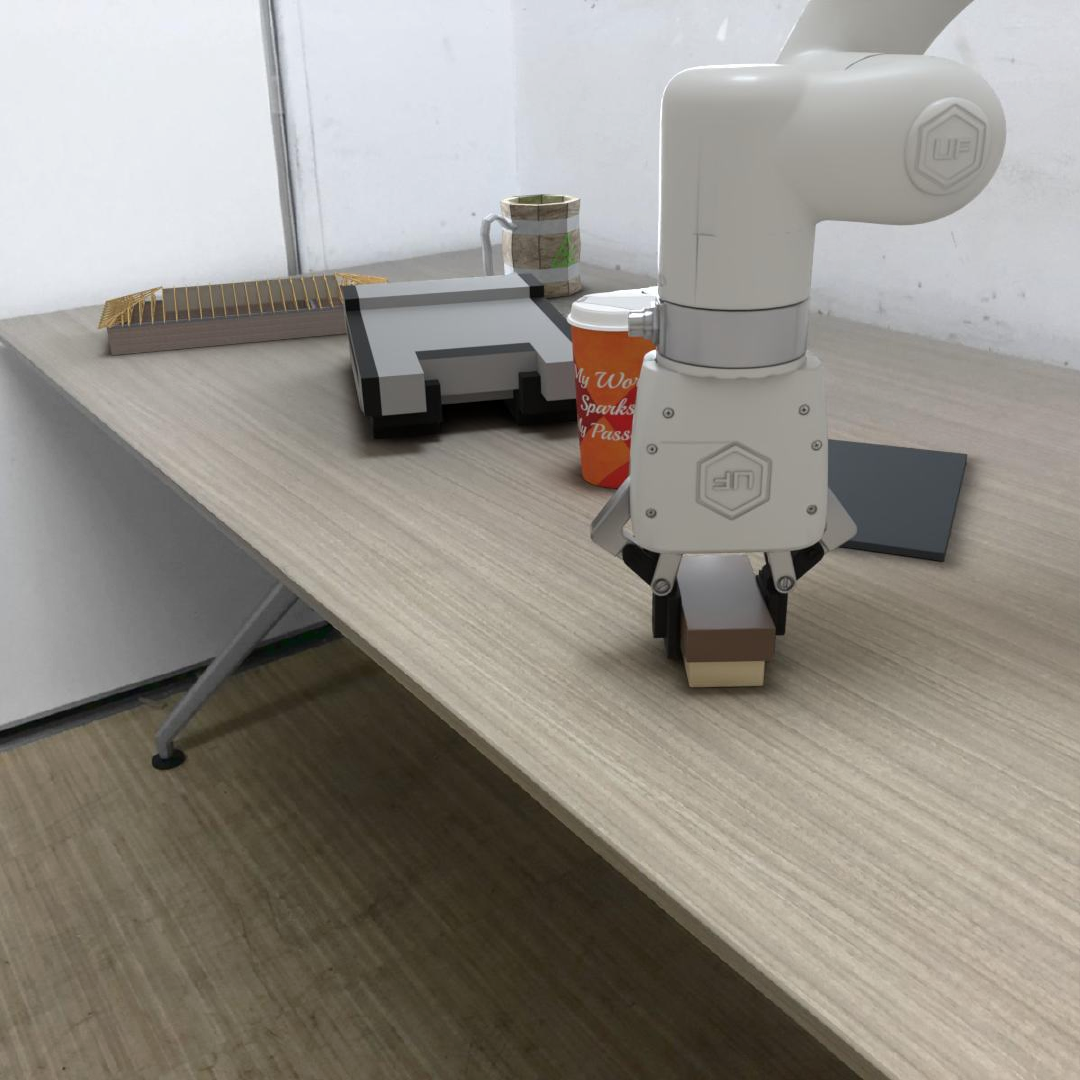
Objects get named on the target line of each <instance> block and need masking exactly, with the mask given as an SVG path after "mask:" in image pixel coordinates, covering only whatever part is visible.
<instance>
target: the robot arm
mask: <svg viewBox="0 0 1080 1080" xmlns="http://www.w3.org/2000/svg"><path fill="white" fill-rule="evenodd" d="M974 1H975V0H807V2H806V4H805V6H804V8H803V9H802V11H801V13H800V15H799V17H798V19H797V20H796V21H795V24H794V25H793V27H792V29H791V31H790V33H789V35H788V36H787V38H786V39H785V42H784V43H783V45H782V47H781V49H780V50H779V53H778V54H777V56H776V58H775V60H774V62H773V63H741V64H739V63H738V64H736V63H735V64H713V65H705V66H704V65H703V66H702V65H701V66H696V67H695V66H694V67H691V68H686V69H683V70H682V71H679V72H677V73H676V74H675V75H673V77H672V78H670V79H669V81H668V83H666V86H665V87H664V91H663V92H662V97H661V102H660V115H659V116H660V118H659V162H658V163H659V165H658V167H659V168H658V170H659V171H658V173H659V174H658V225H657V226H658V230H657V233H658V234H657V235H658V236H657V286H658V288H657V293H655V302H651V306H650V308H643V310H637V311H628V336H629V337H643V340H649V339H650V340H651V343H652V345H656V350H653V351H650V352H649V353H647V354H646V355H645V357H644V360H643V364H642V368H641V372H640V377H639V382H638V387H637V395H636V402H635V409H634V415H633V424H632V435H631V447H630V462H629V476H628V477H627V478H626V480H625V481H624V482H623V484H622V485H621V486H620V487H619V488H617V489H616V490H615V492H614V493H613V495H612V496H611V497H610V499H609V500H608V501H607V502H606V503H605V505H604V506H603V507H602V509H601V510H600V511H599V512H598V513H597V514H596V516H595V517H594V518H593V520H592V521H591V523H590V524H589V533H590V534H589V535H590V539H591V541H592V542H593V543H594V544H595V545H597V546H598V547H599V548H601V549H603V550H604V551H606V552H608V553H609V554H611V555H612V556H613V557H615V558H616V557H617V558H618V559H619V560H621V561H623V563H624V564H625V565H626V567H628V568H629V569H630V570H631V571H632V572H633V573H634V574H635V575H637V577H639V578H640V579H641V580H642V581H644V582H645V583H646V584H647V585H648V586H649V587H650V589H651V592H652V593H651V597H652V600H651V606H652V607H651V631H652V638H653V639H663V644H664V645H663V646H664V650H665V655H666V659H667V660H675V659H677V658H678V657H681V635H680V623H681V603H682V597H681V593H680V588H679V584H678V580H677V577H676V576H677V573H678V569H679V566H680V563H681V560H682V557H683V556H684V555H691V554H692V555H693V554H694V555H697V554H698V555H699V554H701V555H702V554H706V555H707V554H748V553H751V554H752V553H762V554H763V559H764V563H765V564H764V565H763V566H762V567H761V569H758V574H755V576H756V580H757V582H758V585H759V588H760V590H761V593H762V596H763V598H764V601H765V602H766V605H767V608H768V610H769V613H770V616H771V618H772V621H773V623H774V626H775V629H776V630H775V639H776V637H777V636H778V637H779V636H782V637H783V636H785V634H786V626H787V616H788V615H787V613H788V602H789V601H788V600H789V593H791V592H793V591H794V590H795V589H796V587H797V584H798V580H800V579H801V578H802V577H803V576H804V575H806V574H807V573H808V572H810V570H811V569H812V568H814V567H815V566H816V565H817V564H818V563H819V562H821V561H822V560H823V559H824V557H825V555H826V554H828V553H831V552H833V551H835V550H836V549H837V548H839V547H841V546H840V545H842V544H843V543H845V542H846V541H848V540H850V539H851V538H853V537H854V536H855V535H856V533H857V526H856V524H855V523H854V521H853V519H852V518H851V516H850V515H849V514H848V512H847V511H846V509H845V508H844V507H843V505H842V504H841V503H840V501H839V500H838V499H837V497H836V496H835V494H834V493H833V492H832V490H831V489H830V488H829V486H828V439H829V426H828V424H829V421H828V402H827V401H828V400H827V390H826V380H825V372H824V371H825V370H824V365H823V360H822V359H821V358H819V357H818V356H817V355H816V354H815V353H813V352H812V351H809V350H808V349H807V348H808V335H809V322H810V321H809V320H810V310H811V309H810V307H811V289H812V278H813V266H814V265H813V264H814V252H815V240H816V230H817V229H816V228H817V225H818V224H819V223H821V222H825V221H833V222H834V221H835V222H848V223H849V222H853V223H863V224H874V225H884V226H885V225H886V226H914V225H921V224H923V225H924V224H927V223H932V222H935V221H938V220H941V219H943V218H946V217H948V216H950V215H952V214H954V213H957V212H958V211H960V210H962V209H963V208H964V207H966V206H967V205H969V204H970V203H971V202H972V201H974V200H975V199H976V198H977V197H978V196H979V195H980V194H982V192H983V191H984V190H985V188H986V187H987V186H988V185H989V184H990V182H991V180H992V179H993V178H994V176H995V175H996V172H997V170H998V168H999V166H1000V164H1001V162H1002V159H1003V156H1004V152H1005V149H1006V148H1005V147H1006V143H1007V121H1006V116H1005V111H1004V107H1003V106H1002V103H1001V100H1000V98H999V97H998V95H997V93H996V92H995V90H994V89H993V87H992V86H991V84H989V82H988V81H987V80H985V78H983V76H981V75H980V74H979V73H977V72H976V71H975V70H973V69H972V68H971V67H968V66H967V65H964V64H963V63H960V62H957V61H955V60H952V59H949V58H945V57H940V56H935V55H928V54H926V52H927V51H928V49H929V48H930V46H931V45H932V44H933V43H934V41H935V40H936V39H937V38H938V36H940V34H941V33H943V31H944V30H945V29H946V28H947V27H948V26H949V24H951V22H952V21H953V20H954V19H955V18H957V16H959V15H960V14H961V13H962V12H963V11H964V10H965V9H966V8H967V7H968V6H969V5H971V4H972V3H973V2H974ZM810 510H811V511H810ZM629 521H630V524H631V531H632V534H631V533H629V532H628V530H627V529H625V528H624V527H625V525H627V523H628V522H629ZM775 650H776V643H775V644H774V653H775V652H776V651H775Z"/></svg>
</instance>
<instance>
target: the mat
mask: <svg viewBox="0 0 1080 1080" xmlns="http://www.w3.org/2000/svg"><path fill="white" fill-rule="evenodd" d="M967 461H968V454H967V453H961V452H953V451H944V450H943V451H942V450H935V449H924V448H916V447H915V448H914V447H907V446H898V445H897V446H896V445H888V444H877V443H869V442H859V441H851V440H850V441H849V440H841V439H832V438H828V486H829V488H830V489H831V490H832V492H833V493H834V494H835V496H836V497H837V499H838V500H839V501H840V503H841V504H842V505H843V507H844V508H845V509H846V511H847V512H848V514H849V515H850V516H851V518H852V519H853V521H854V523H855V524H856V526H857V533H856V535H855V536H854V537H853V538H851V539H850V540H848V541H846V542H845V543H843V544H842V545H840V546H839V547H841V548H847V549H848V548H849V549H855V550H856V549H857V550H862V551H868V552H869V551H870V552H877V553H883V554H890V555H898V556H905V557H912V558H917V559H918V558H920V559H925V560H933V561H939V562H940V561H941V562H944V561H945V558H946V553H947V548H948V544H949V539H950V535H951V531H952V525H953V522H954V518H955V513H956V508H957V504H958V500H959V496H960V490H961V486H962V483H963V478H964V474H965V469H966V465H967ZM810 511H811V510H810Z"/></svg>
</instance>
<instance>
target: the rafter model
mask: <svg viewBox="0 0 1080 1080" xmlns="http://www.w3.org/2000/svg"><path fill="white" fill-rule="evenodd" d="M337 275H338V276H340V277H341V280H340V282H339V279H338V277H337ZM379 283H391V282H390V281H389V279H387V277H381V276H371V275H363V274H354V273H345V272H338V271H337V272H336V271H335V272H334V273H333V274H327V275H326V274H325V273H323V274H322V275H314V274H313V273H312V274H311V276H305V277H303V275H300V277H292V276H291V275H289V277H288V278H280V276H278V278H277V279H269V277H266V280H257V279H255V280H253V281H252V280H251V281H246V280H245V279H243V281H242V282H234V280H232V281H231V282H230V283H227V282H226V283H222V282H220V283H215V284H211V282H208V284H205V285H204V284H203V285H199V283H198V282H197V284H196V285H193V286H192V285H191V286H187V284H185V286H179V287H175V285H174V284H173V287H166V288H163V286H158V287H154V288H150V289H146V290H142V291H138V292H135V293H131V294H128V295H124V296H120V297H115V298H113V299H109V300H108V299H107V300H105V302H104V305H103V308H102V309H103V310H102V313H101V316H100V319H99V322H98V324H97V327H96V328H97V330H101V329H104V328H105V329H106V331H107V338H108V342H109V348H110V353H111V356H119V355H129V354H130V355H131V354H139V353H140V354H141V353H151V352H152V353H153V352H160V351H172V350H183V349H193V348H204V347H214V346H225V345H226V346H227V345H236V344H246V343H247V344H248V343H257V342H267V341H279V340H289V339H300V338H313V337H320V336H321V337H323V336H332V335H333V336H334V335H344V334H347V332H346V327H345V317H344V307H343V297H342V287H341V286H350V285H364V284H379ZM159 290H161V298H162V299H157V296H156V294H155V293H156V292H158V291H159ZM149 297H150V300H146V299H147V298H149Z"/></svg>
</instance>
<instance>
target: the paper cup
mask: <svg viewBox="0 0 1080 1080" xmlns="http://www.w3.org/2000/svg"><path fill="white" fill-rule="evenodd" d="M651 302H655V296H653V295H649V294H644V293H634V292H613V291H608V292H607V291H606V292H597V293H596V292H595V293H589V294H585V295H582V297H579V298H578V299H576V300H575V301H573V302H572V303H571V309H570V313H568V315H567V317H566V319H567V322H568V323H569V324H571V330H572V348H573V364H574V376H575V389H576V402H577V416H578V420H577V428H578V440H579V453H580V455H579V456H580V465H581V475H582V478H583V480H584V481H586V482H587V483H589V484H591V485H594V486H598V487H603V488H611V489H619V487H620V486H621V485H622V484H623V482H624V481H625V480H626V478H627V477H628V476H629V462H630V447H631V435H632V424H633V415H634V409H635V402H636V395H637V387H638V382H639V377H640V372H641V368H642V364H643V360H644V357H645V355H646V354H647V353H649V352H650V351H653V350H656V345H652V343H651V340H650V339H649V340H643V337H629V336H628V311H637V310H643V308H650V306H651Z"/></svg>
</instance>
